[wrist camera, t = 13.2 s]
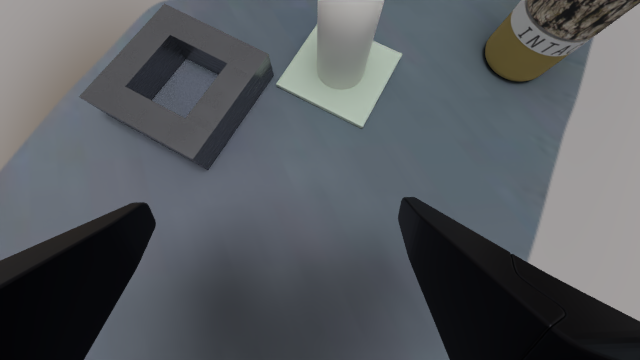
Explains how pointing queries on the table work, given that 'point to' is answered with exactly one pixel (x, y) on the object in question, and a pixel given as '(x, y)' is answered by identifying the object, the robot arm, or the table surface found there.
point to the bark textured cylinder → (547, 33)
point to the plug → (345, 39)
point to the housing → (158, 66)
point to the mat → (340, 102)
